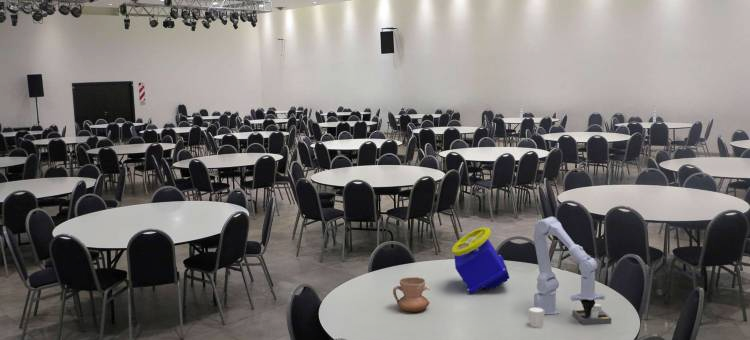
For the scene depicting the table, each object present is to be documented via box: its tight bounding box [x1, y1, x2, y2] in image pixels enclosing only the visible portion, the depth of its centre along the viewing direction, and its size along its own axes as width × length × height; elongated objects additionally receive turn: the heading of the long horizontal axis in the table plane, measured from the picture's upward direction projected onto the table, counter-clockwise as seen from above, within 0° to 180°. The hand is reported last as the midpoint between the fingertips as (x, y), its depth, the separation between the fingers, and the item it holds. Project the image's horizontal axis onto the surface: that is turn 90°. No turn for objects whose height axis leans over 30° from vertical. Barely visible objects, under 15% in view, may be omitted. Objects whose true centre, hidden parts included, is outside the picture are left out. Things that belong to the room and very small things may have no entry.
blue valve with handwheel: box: [451, 226, 511, 295], centre depth 316 cm, size 26×27×30 cm
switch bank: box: [571, 309, 612, 326], centre depth 274 cm, size 13×11×2 cm
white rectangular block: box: [589, 308, 598, 318], centre depth 271 cm, size 3×3×4 cm
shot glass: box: [528, 306, 545, 328], centre depth 269 cm, size 7×7×7 cm
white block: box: [592, 303, 602, 313], centre depth 277 cm, size 3×3×4 cm
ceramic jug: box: [392, 276, 431, 313], centre depth 292 cm, size 18×14×14 cm
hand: (587, 315), depth 271 cm, fingers closed
